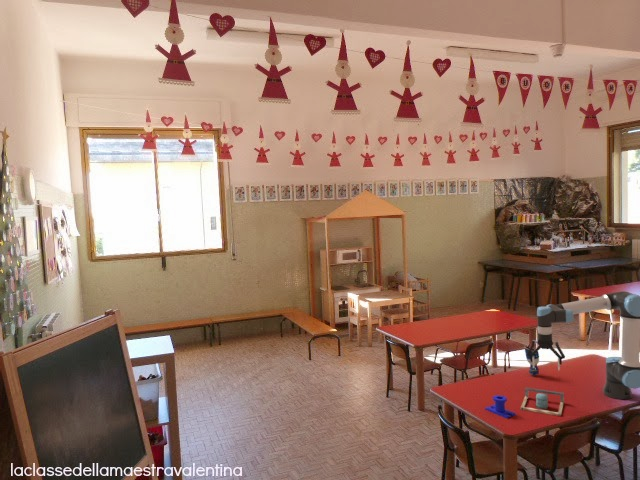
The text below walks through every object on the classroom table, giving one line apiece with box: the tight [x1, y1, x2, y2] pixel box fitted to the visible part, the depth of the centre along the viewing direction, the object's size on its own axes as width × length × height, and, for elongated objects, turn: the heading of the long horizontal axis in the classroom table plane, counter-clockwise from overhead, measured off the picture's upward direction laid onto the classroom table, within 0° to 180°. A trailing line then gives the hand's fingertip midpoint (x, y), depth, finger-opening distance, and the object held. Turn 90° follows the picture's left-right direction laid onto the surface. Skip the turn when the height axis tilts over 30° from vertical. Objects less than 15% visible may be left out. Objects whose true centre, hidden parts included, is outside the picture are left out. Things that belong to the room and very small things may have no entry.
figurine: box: [524, 346, 540, 377], centre depth 329 cm, size 13×9×20 cm
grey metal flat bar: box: [524, 387, 565, 404], centre depth 287 cm, size 21×2×6 cm, turn 59°
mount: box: [484, 394, 517, 419], centre depth 273 cm, size 15×8×9 cm, turn 31°
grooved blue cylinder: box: [535, 392, 549, 410], centre depth 278 cm, size 6×6×7 cm
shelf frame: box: [520, 395, 565, 417], centre depth 279 cm, size 21×20×1 cm
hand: (546, 368), depth 281 cm, fingers open, 13 cm apart
